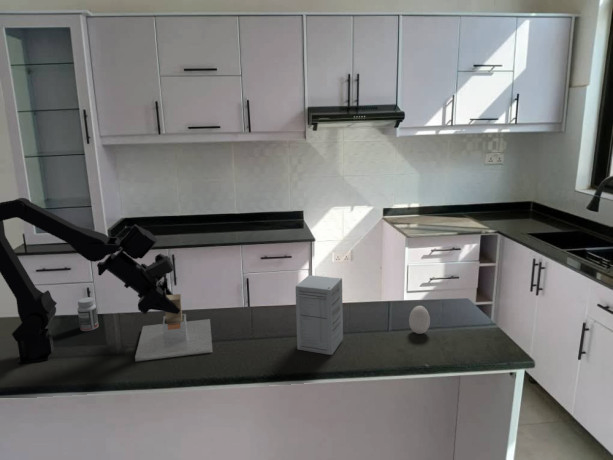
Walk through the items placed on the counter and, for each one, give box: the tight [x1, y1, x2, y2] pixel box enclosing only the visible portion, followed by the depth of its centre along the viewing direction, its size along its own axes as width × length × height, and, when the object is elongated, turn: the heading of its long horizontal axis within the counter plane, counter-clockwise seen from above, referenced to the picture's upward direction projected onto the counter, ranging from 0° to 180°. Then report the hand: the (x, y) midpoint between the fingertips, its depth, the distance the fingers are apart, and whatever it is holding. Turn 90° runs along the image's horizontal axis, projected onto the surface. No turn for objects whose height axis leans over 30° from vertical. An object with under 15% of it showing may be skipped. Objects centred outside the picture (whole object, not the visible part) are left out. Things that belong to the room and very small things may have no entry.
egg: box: [408, 305, 431, 335], centre depth 122 cm, size 5×5×8 cm
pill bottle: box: [77, 296, 99, 332], centre depth 128 cm, size 5×5×8 cm
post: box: [164, 293, 183, 323], centre depth 119 cm, size 4×4×10 cm
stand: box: [134, 313, 214, 362], centre depth 120 cm, size 18×18×6 cm
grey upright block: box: [295, 274, 344, 356], centre depth 115 cm, size 10×9×17 cm
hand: (179, 309), depth 119 cm, fingers closed on post, 4 cm apart
